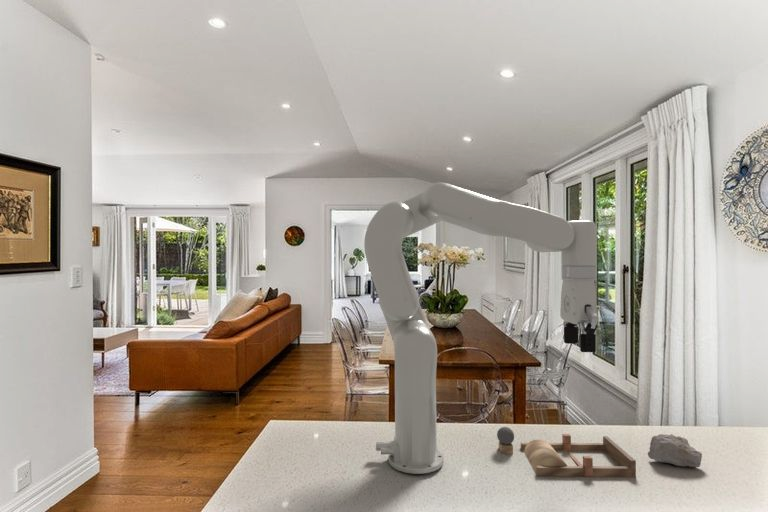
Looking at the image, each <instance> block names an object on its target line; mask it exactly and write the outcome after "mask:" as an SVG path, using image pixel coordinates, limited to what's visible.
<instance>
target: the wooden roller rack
mask: <svg viewBox="0 0 768 512" xmlns="http://www.w3.org/2000/svg"><path fill="white" fill-rule="evenodd" d="M561 439H562V442H547V441H546V440H543V439H534V440H533V439H532V440H531V441H529V442H520V449H521V451H523V453H524V455H525V456H526V458H527V460H528V462H529V464H530V465H531V467H532V470H533V471H534V473H535V475H536V477H582V478H583V477H586V478H588V477H589V478H594V477H596V478H597V477H598V478H600V477H603V478H604V477H605V478H609V477H611V478H613V477H614V478H615V477H616V478H636V477H637V470H636V469H637V467H636V465H637V461H636V459H634V458H633V457H632V456H631V455H630V454H629V453H627V451H625V450H624V449H623V448H622V447H621V446H619V445H618V444H617V443H616V442H614V441H613V440H612V439H611V438H610V437H608V436H605V435H603V436H602V442H572V435H570V433H562V434H561ZM557 451H565V452H566V453H567V455H569V457H570V458H571V460H573V462H574V463H575V465H568V464H567V463H566V462H565V461H564V460H563V458H562V457H561V455H559V454H558V452H557ZM572 451H573V452H574V451H578V452H579V451H581V452H582V451H583V452H586V451H587V452H591V451H592V452H593V451H594V452H605V453H606V454H607V455H609V456H610V458H611V459H612V460H613V461H614V462H615V463H616V464H617V465H608V466H607V465H605V466H604V465H602V466H601V465H595V466H594V465H593V464H594V463H593V461H594V459H593V457H592V456H591V455H582V463H581V462H580V461H579V460H578V458H576V456H575V455H574V454H573V453H572Z"/></svg>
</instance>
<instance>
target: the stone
mask: <svg viewBox="0 0 768 512" xmlns="http://www.w3.org/2000/svg"><path fill="white" fill-rule="evenodd" d="M648 449H649V451H648V453H647V456H648V458H649V459H651V460H653V461H656V462H658V463H666V464H667V463H668V464H672V465H674V466H678V467H691V468H700V466H701V464H702V458H703V454H702V452H701V451H699V450H697V449H695V448H694V447H693V446H691V445H690V443H689V441H688V439H687V438H685V437H682V436H675V435H673V434H671V433H670V434H662V433H661V434H657V435H653V436H652V437H651V439H650V444H649V448H648Z"/></svg>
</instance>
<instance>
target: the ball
mask: <svg viewBox="0 0 768 512" xmlns="http://www.w3.org/2000/svg"><path fill="white" fill-rule="evenodd" d="M514 434H515V433H514V431H513V430H512V429H511V428H510V427H508V426H502V427H500V428H499V429H498V430H497V433H496V438H497V440H498V442H499V441H500V442H501V443H502V444H505V445H507V444H510V443H512V444H513V442H514V439H515V435H514Z"/></svg>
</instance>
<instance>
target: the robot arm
mask: <svg viewBox="0 0 768 512" xmlns="http://www.w3.org/2000/svg"><path fill="white" fill-rule="evenodd" d="M441 221H442V222H446V223H448V224H452V225H454V226H458V227H461V228H465V229H467V230H470V231H472V232H475V233H478V234H481V235H485V236H491V237H503V238H510V239H515V240H519V241H523V242H525V244H526V245H527V247H528V248H530V249H531V250H532V251H534V252H537V253H556V252H557V253H558V252H561V258H560V259H561V260H560V261H561V262H560V263H561V272H560V274H561V276H560V277H561V278H560V279H561V280H562V282H561V292H560V293H561V294H560V318H561V320H563V343H565V344H569V345H570V344H572V345H573V344H578V343H579V348H580V349H579V350H580V351H579V352H581V353H596V352H597V337H596V336H597V328H598V321H599V316H598V314H597V311H598V309H597V308H598V307H597V292H596V284H595V281H597V280H598V279H597V273H598V271H597V269H598V267H597V265H598V264H597V260H598V259H597V255H598V254H597V225H596V223H595V222H594V221H593V220H586V219H584V220H583V219H582V220H581V219H579V220H566V219H565V218H563V217H561V216H559V215H555V214H553V213H550V212H547V211H543V210H540V209H538V208H533V207H531V206H526V205H522V204H517V203H513V202H509V201H505V200H501V199H496V198H493V197H489V196H488V195H487V196H486V195H484V194H480V193H477V192H474V191H471V190H469V189H465V188H462V187H459V186H456V185H453V184H451V183H448V182H441V181H439V182H434V183H432V184H431V185H429V186H428V187H427V188H426V189H425V190H424V191H423V192H421V193H419V194H417V195H416V196H413V197H411V198H409V199H406V200H404V201H402V202H401V201H391V202H388V203H386V204H384V205H383V206H381V208H379V210H378V211H377V212H376V213H375V214H374V215H373V217H372V218H371V219H370V221H369V223H368V225H367V228H366V231H365V235H364V245H363V247H364V255H365V259H366V263H367V267H368V269H369V272H370V275H371V279H372V282H373V284H374V287H375V291H376V293H377V297H378V302H379V303H378V304H379V308H380V309H381V311H382V313H383V317H384V320H385V323H386V324H387V325H386V326H387V328H388V330H389V333H390V336H391V339H392V342H393V347H394V431H395V432H394V434H395V436H393V440H389V442H386V441H385V442H384V441H376V442H375V451H376V452H378V451H379V452H380V455H388V462H389V465H390V466H391V467H392V468H393V469H395V470H397V471H399V472H403V473H406V474H414V475H417V474H419V475H420V474H428V473H433V472H435V471H438V470H439V469H440V468H442V467H443V465H444V455H443V453H441V452H440V451H439V450H438V449H437V363H438V346H437V339H436V338H435V335H434V333H433V332H432V330H431V329H430V327H428V323H427V321H426V318H425V316H424V311H423V309H422V307H421V304H420V297H419V296H420V295H419V292H418V290H417V288H416V287H415V285H414V282H413V279H412V277H411V274H410V271H409V269H408V265H407V263H406V259H405V256H404V253H403V247H402V246H403V241H404V239H405V238H407V237H409V236H411V235H413V234H415V233H418V232H420V231H423V230H424V229H427V228H429V227H431V226H433V225H435V224H438V223H439V222H441ZM578 323H579V326H578ZM579 327H580V330H581V333H579ZM579 340H580V341H579Z"/></svg>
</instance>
